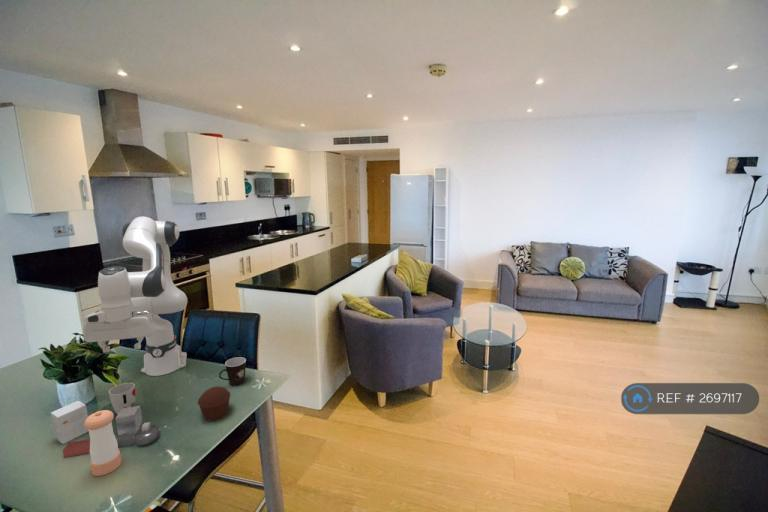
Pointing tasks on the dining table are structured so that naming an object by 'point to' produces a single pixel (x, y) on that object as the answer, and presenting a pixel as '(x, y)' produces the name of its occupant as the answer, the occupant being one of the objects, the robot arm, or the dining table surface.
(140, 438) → the ratchet
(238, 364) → the coffee mug
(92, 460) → the pepper shaker
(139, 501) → the dining table surface
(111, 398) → the cup
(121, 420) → the light grey cube
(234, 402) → the dining table surface
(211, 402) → the muffin
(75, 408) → the small box
